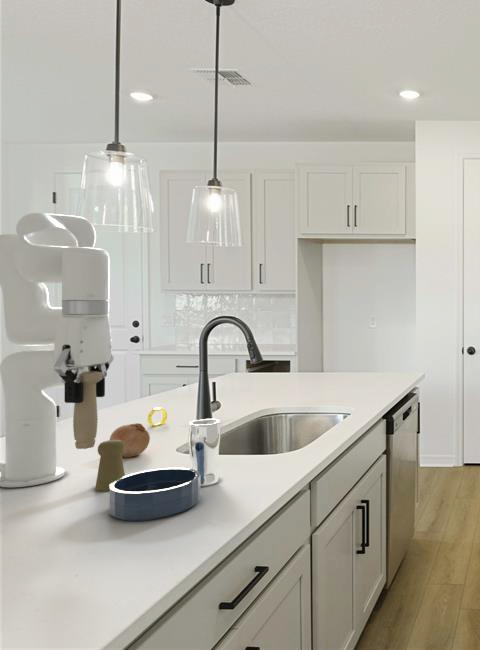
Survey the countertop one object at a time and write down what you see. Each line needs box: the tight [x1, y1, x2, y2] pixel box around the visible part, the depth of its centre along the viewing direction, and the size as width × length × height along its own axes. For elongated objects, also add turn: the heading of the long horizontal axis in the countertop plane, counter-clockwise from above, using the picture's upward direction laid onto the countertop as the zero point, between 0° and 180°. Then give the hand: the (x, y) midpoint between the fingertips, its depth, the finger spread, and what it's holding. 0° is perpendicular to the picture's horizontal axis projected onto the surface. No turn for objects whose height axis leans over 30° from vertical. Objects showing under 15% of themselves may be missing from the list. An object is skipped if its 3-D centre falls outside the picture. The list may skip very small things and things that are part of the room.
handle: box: [72, 371, 103, 450], centre depth 113 cm, size 5×6×15 cm
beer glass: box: [187, 418, 222, 487], centre depth 138 cm, size 7×7×15 cm
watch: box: [147, 406, 168, 427], centre depth 195 cm, size 6×3×6 cm, turn 156°
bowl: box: [108, 467, 201, 522], centre depth 122 cm, size 17×17×6 cm
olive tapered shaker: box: [95, 439, 126, 492], centre depth 134 cm, size 6×6×11 cm
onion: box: [109, 422, 151, 459], centre depth 159 cm, size 10×9×10 cm
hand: (85, 398), depth 113 cm, fingers closed on handle, 5 cm apart
